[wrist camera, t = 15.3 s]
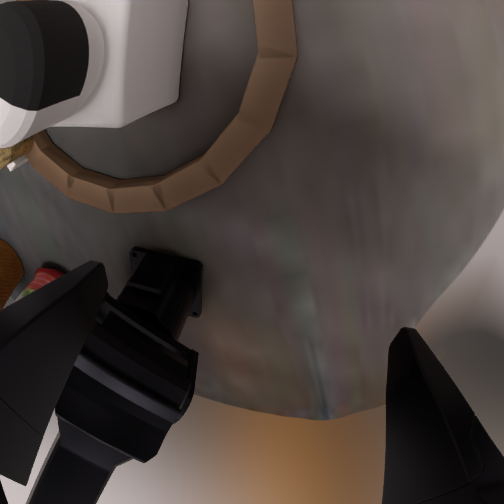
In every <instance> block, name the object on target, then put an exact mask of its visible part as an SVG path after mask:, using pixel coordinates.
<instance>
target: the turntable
mask: <svg viewBox="0 0 504 504" xmlns="http://www.w3.org/2000/svg"><path fill="white" fill-rule="evenodd" d="M16 1H29V0H16ZM253 7H254V16H255V25H256V34H257V43H258V54H257V57H256V60H255V63H254V66H253V69H252V72H251V75H250V79H249V82H248V85H247V88H246V91H245V94H244V97H243V100H242V104H241V107H240V110H239V113H238V115H237V116H236V117H235V118H234V119H233V121H232V122H231V123H230V124H229V125H228V126H227V128H226V129H225V130H224V131H223V132H222V134H221V135H220V136H219V137H218V139H217V140H216V141H215V142H214V143H213V145H212V146H211V147H210V148H209V150H208V151H207V152H206V153H205V154H203V155H201V156H199V157H198V158H196V159H194V160H192V161H190V162H188V163H186V164H185V165H183V166H181V167H179V168H177V169H175V170H174V171H172V172H170V173H168V174H167V175H165V176H157V177H146V178H136V179H127V180H119V179H116V178H113V177H109V176H106V175H103V174H100V173H97V172H93V171H90V170H87V169H84V168H82V167H81V166H79V165H78V164H77V163H76V162H74V161H73V160H72V159H71V158H70V157H68V156H67V155H66V154H65V153H63V152H62V151H61V150H60V149H59V148H57V147H56V146H55V145H54V144H53V143H52V142H51V140H50V138H49V137H48V135H47V133H46V132H45V130H42V131H40V132H38V133H36V134H34V135H32V136H30V137H28V138H26V139H24V140H22V141H20V142H19V143H17V144H15V145H13V146H10V147H7V148H0V170H1V169H2V168H4V167H5V166H7V165H9V164H10V163H12V162H13V161H15V160H17V159H18V158H20V157H22V156H23V155H26V157H27V159H28V160H29V162H30V164H31V165H32V167H33V168H34V169H36V170H37V171H38V172H39V173H40V174H41V175H42V176H44V177H45V178H46V179H47V180H48V181H49V182H50V183H52V184H53V185H54V186H55V187H56V188H57V189H59V190H60V191H61V192H62V193H63V194H65V195H66V196H67V197H69V198H71V199H74V200H77V201H80V202H82V203H85V204H88V205H91V206H94V207H96V208H99V209H102V210H105V211H107V212H110V213H113V214H116V213H136V212H160V211H168V210H170V209H172V208H174V207H176V206H178V205H180V204H182V203H184V202H186V201H188V200H190V199H192V198H195V197H197V196H199V195H201V194H203V193H205V192H207V191H209V190H212V189H214V188H216V187H218V186H220V185H222V184H223V183H224V182H225V181H226V179H227V178H228V177H229V176H230V175H231V174H232V173H233V171H234V170H235V169H236V168H237V167H238V166H239V165H240V164H241V163H242V161H243V160H244V159H245V158H246V157H247V156H248V155H249V154H250V153H251V151H252V150H253V149H254V148H255V147H256V146H257V145H258V144H259V143H260V142H261V141H262V140H263V138H264V137H265V136H266V135H267V134H268V133H269V132H270V131H271V129H272V127H273V124H274V122H275V119H276V116H277V113H278V110H279V108H280V105H281V102H282V99H283V96H284V94H285V91H286V88H287V85H288V83H289V80H290V77H291V74H292V72H293V69H294V66H295V63H296V61H297V58H298V52H297V41H296V30H295V20H294V10H293V1H292V0H253Z"/></svg>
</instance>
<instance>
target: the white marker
mask: <svg viewBox="0 0 504 504" xmlns="http://www.w3.org/2000/svg"><path fill="white" fill-rule="evenodd" d="M27 161H28V159H27V157H26V155H23V156H22V157H20V158H18V159H17V160H15V161H13V162H12V163H10V164H9V165H7V166H8V168H9V170H10V172H11V171H12V170H14V169H16V168H17V167H19V166H20V165H22V164H23V163H25V162H27Z"/></svg>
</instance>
